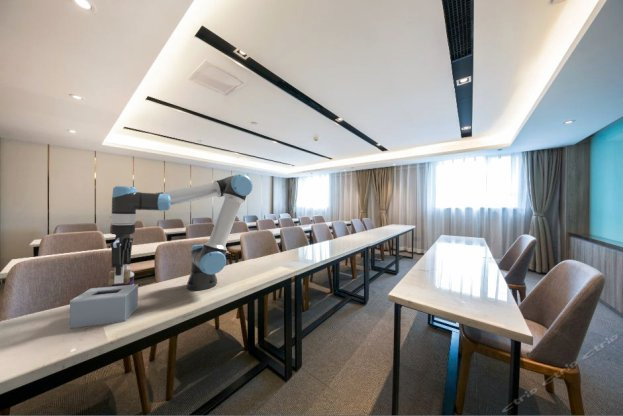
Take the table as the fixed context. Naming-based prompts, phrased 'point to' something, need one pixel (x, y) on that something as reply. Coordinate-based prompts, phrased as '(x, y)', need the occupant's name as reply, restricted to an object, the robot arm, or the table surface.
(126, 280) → the token
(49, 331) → the table surface
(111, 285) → the pill bottle
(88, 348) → the table surface
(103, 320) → the box
